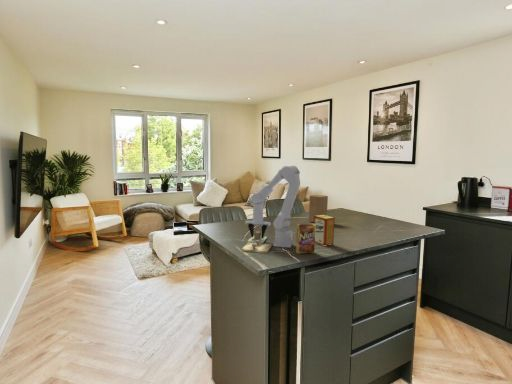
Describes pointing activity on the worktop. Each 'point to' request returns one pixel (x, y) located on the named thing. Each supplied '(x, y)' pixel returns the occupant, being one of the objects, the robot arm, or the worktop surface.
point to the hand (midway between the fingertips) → (257, 237)
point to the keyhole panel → (257, 238)
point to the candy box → (305, 238)
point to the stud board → (257, 247)
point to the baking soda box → (324, 229)
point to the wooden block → (317, 206)
